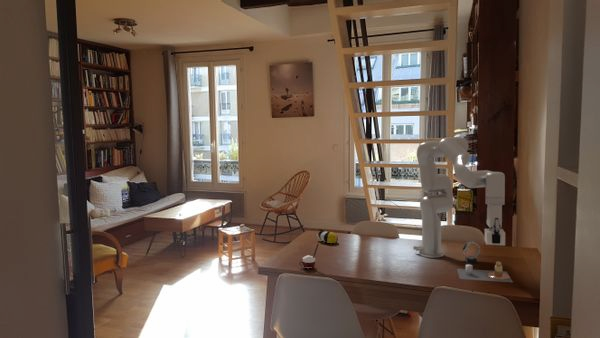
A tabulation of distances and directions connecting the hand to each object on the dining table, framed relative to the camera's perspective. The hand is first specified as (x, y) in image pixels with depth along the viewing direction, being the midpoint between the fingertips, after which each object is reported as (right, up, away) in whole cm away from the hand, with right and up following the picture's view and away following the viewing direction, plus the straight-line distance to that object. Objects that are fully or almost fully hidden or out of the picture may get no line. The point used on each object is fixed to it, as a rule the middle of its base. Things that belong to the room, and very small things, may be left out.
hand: (494, 240), depth 183 cm
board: (-4, -17, +3) cm, 18 cm away
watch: (-1, -16, +23) cm, 28 cm away
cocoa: (-80, -18, +23) cm, 85 cm away
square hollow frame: (0, -1, 0) cm, 1 cm away
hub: (+2, -16, +1) cm, 16 cm away
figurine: (-68, -13, +71) cm, 99 cm away
